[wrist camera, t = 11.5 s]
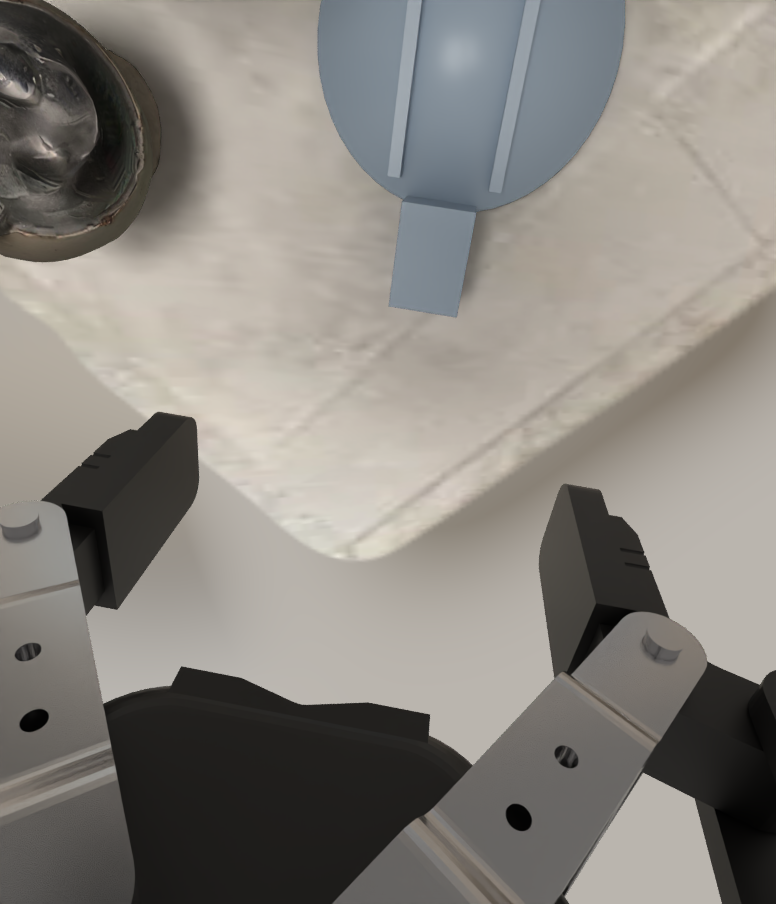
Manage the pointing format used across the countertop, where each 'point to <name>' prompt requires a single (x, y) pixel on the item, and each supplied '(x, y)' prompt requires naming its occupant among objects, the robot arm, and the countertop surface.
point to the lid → (462, 112)
